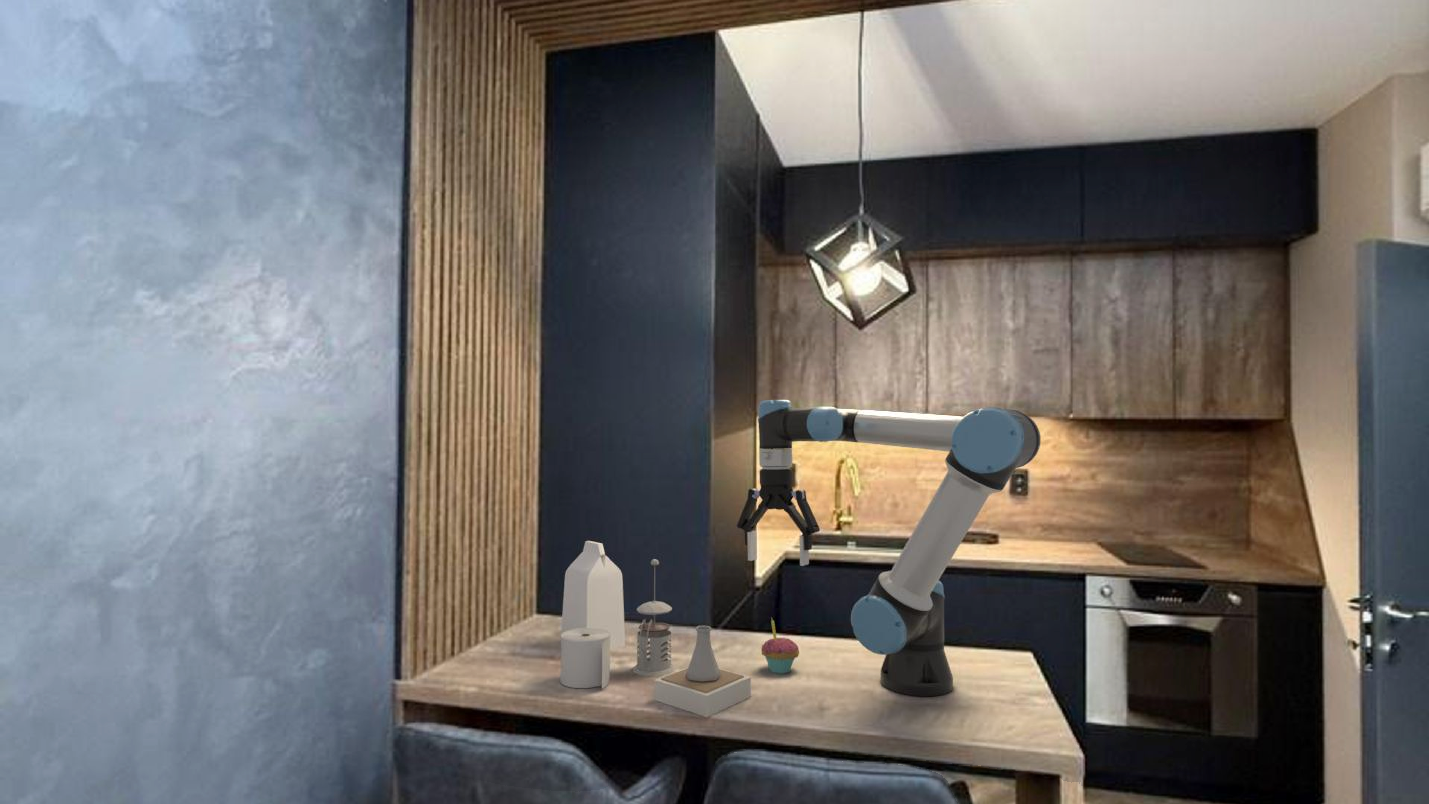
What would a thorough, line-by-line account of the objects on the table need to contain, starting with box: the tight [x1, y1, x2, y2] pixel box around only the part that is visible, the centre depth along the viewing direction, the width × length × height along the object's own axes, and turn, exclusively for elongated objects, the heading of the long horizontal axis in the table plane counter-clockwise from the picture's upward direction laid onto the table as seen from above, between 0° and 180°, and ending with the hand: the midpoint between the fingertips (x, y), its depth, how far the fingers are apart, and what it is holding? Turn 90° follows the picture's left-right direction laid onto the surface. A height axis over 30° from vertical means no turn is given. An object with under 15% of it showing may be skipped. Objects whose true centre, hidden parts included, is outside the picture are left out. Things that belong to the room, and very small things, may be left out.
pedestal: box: [653, 666, 752, 718], centre depth 150 cm, size 14×14×4 cm
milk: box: [560, 540, 626, 651], centre depth 187 cm, size 12×12×26 cm
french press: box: [632, 558, 676, 677], centre depth 168 cm, size 10×12×25 cm
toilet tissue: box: [560, 628, 611, 690], centre depth 161 cm, size 11×12×10 cm
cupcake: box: [761, 617, 800, 674], centre depth 168 cm, size 9×8×12 cm
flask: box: [686, 625, 721, 682], centre depth 151 cm, size 7×7×10 cm
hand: (777, 562), depth 166 cm, fingers open, 13 cm apart
